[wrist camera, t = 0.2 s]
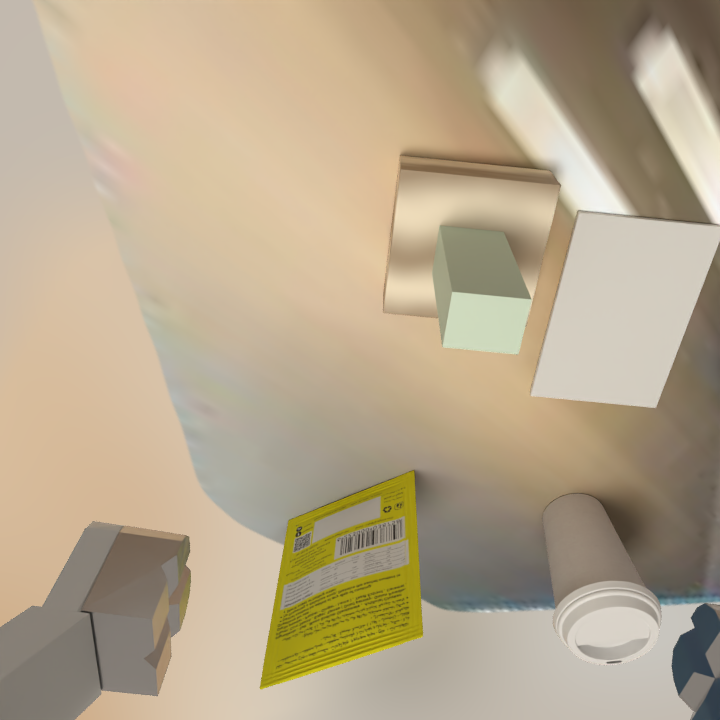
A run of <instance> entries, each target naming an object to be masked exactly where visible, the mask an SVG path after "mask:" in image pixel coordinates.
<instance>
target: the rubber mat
mask: <svg viewBox="0 0 720 720" xmlns="http://www.w3.org/2000/svg"><path fill="white" fill-rule="evenodd" d="M719 241H720V225H714V224H704V223H694V222H684V221H674V220H664V219H654V218H644V217H634V216H624V215H615V214H605V213H595V212H585V211H578V212H577V215H576V219H575V223H574V227H573V231H572V234H571V238H570V242H569V246H568V250H567V253H566V257H565V261H564V265H563V268H562V272H561V276H560V280H559V284H558V287H557V291H556V295H555V299H554V303H553V306H552V310H551V314H550V318H549V322H548V325H547V329H546V333H545V337H544V341H543V344H542V348H541V352H540V356H539V359H538V363H537V367H536V371H535V375H534V378H533V382H532V386H531V390H530V396H537V397H548V398H558V399H569V400H579V401H590V402H600V403H611V404H621V405H631V406H642V407H652V408H656V406H657V403H658V401H659V398H660V395H661V393H662V390H663V387H664V385H665V382H666V380H667V377H668V374H669V372H670V369H671V367H672V364H673V361H674V359H675V356H676V354H677V351H678V348H679V346H680V343H681V340H682V338H683V335H684V333H685V330H686V327H687V325H688V322H689V320H690V317H691V314H692V312H693V309H694V307H695V304H696V301H697V299H698V296H699V293H700V291H701V288H702V286H703V283H704V280H705V278H706V275H707V273H708V270H709V267H710V265H711V262H712V259H713V257H714V254H715V252H716V249H717V246H718V244H719Z"/></svg>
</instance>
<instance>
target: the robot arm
mask: <svg viewBox="0 0 720 720" xmlns="http://www.w3.org/2000/svg"><path fill="white" fill-rule="evenodd" d="M189 553H190V542H189V537H188V536H186V535H181V534H174V533H168V532H162V531H156V530H149V529H143V528H137V527H130V526H121V525H115V524H109V523H101V522H95V521H93V522H92V523H91V524H90V525H89V526H88V527H87V528H86V529H85V530H84V532H83V534H82V536H81V537H80V539H79V541H78V543H77V545H76V546H75V548H74V550H73V552H72V554H71V555H70V557H69V559H68V561H67V563H66V565H65V566H64V568H63V570H62V572H61V574H60V575H59V577H58V579H57V581H56V583H55V584H54V586H53V588H52V590H51V592H50V594H49V595H48V597H47V599H46V601H45V603H44V604H43V606H42V607H39V606H31V607H30V608H28V609H27V610H25V611H24V612H22V613H21V614H20V615H18V616H16V617H15V618H13V619H12V620H11V621H9V622H7V623H6V624H4V625H3V626H2V627H0V720H75V719H76V718H77V717H78V716H79V715H80V714H81V713H82V712H83V711H84V710H85V709H86V708H87V707H88V706H89V705H90V704H92V703H93V702H94V701H95V700H96V699H97V698H98V697H99V696H100V695H101V690H104V691H113V692H122V693H133V694H142V695H152V696H158V694H159V691H160V688H161V685H162V682H163V680H164V677H165V674H166V671H167V668H168V665H169V662H170V659H171V637H172V636H174V635H175V634H176V633H177V632H179V631H180V629H181V626H182V623H183V619H184V616H185V613H186V608H187V604H188V599H189V593H190V583H191V571H190V569H189V568H188V567H187V566H186V562H187V559H188V556H189ZM691 619H692V622H693V624H694V627H695V628H694V629H692V630H690V631H688V632H686V633H684V634H682V635H680V637H679V639H678V641H677V643H676V645H675V647H674V649H673V658H672V672H673V678H674V683H675V686H676V689H677V692H678V695H679V697H680V698H681V699H682V700H683V701H684V702H685V703H686V704H687V705H688V706H689V707H690V708H691V709H692V710H693V711H694V712H693V714H692V717H691V719H690V720H720V605H716V604H708V603H704V604H702V605H701V606H699V607H697V608H696V610H695V612H694V613H693V615H692V617H691Z"/></svg>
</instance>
